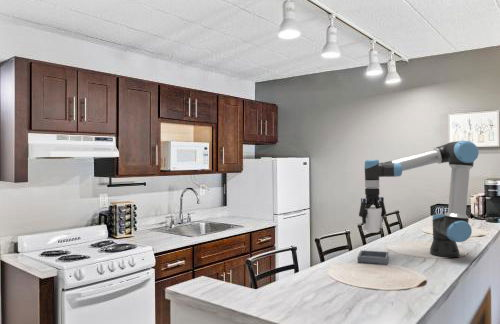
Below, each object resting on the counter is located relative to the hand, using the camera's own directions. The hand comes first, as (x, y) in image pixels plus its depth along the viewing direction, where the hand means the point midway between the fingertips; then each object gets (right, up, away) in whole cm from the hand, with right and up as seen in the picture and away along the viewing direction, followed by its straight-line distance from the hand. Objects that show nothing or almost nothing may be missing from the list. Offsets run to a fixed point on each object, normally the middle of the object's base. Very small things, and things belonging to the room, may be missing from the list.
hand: (372, 228), depth 211 cm
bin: (0, -18, 0) cm, 18 cm away
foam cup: (0, -2, 0) cm, 2 cm away
